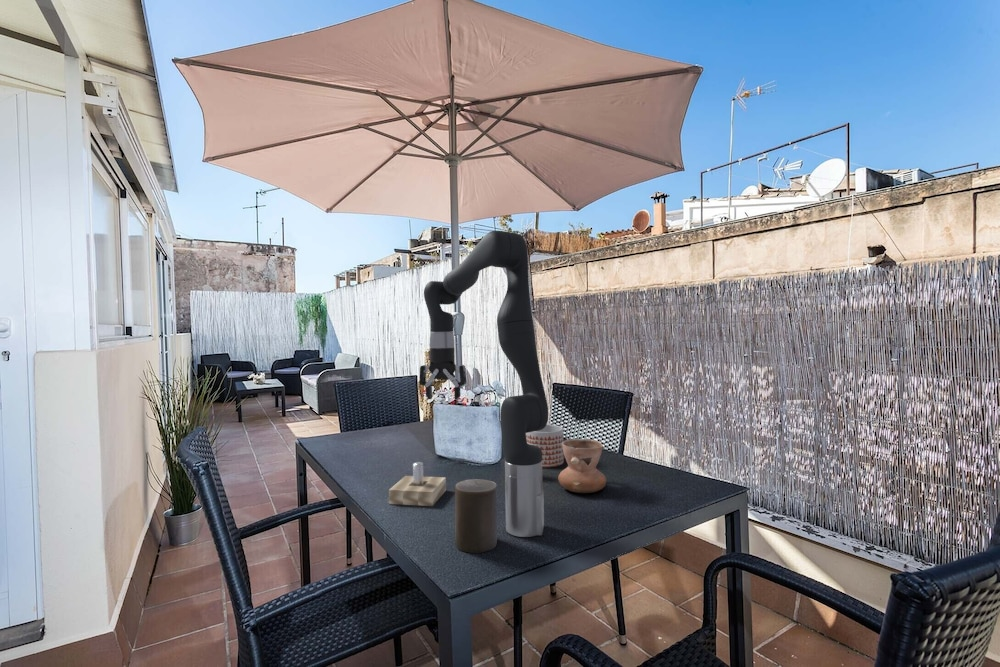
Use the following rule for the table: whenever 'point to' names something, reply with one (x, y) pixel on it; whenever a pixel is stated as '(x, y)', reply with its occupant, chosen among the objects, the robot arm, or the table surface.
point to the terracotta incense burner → (582, 466)
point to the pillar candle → (476, 515)
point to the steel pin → (418, 474)
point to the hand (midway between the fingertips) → (443, 399)
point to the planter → (548, 444)
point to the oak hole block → (417, 491)
